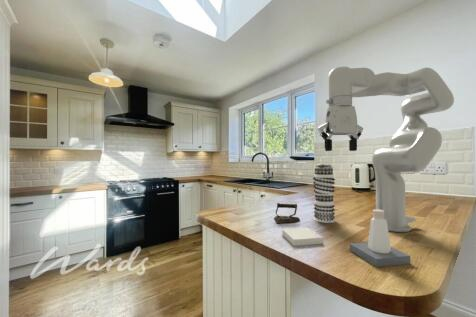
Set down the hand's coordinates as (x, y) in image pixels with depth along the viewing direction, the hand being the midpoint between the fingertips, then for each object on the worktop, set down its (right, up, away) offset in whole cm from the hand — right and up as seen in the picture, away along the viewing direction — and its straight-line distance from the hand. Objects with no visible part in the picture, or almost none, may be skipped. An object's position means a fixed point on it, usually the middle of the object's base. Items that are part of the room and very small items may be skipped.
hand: (340, 150), depth 76 cm
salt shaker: (+2, -28, -17) cm, 33 cm away
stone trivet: (-15, -31, -4) cm, 34 cm away
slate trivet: (+2, -30, -17) cm, 35 cm away
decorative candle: (+1, -31, +18) cm, 36 cm away
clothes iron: (-15, -31, +17) cm, 39 cm away
